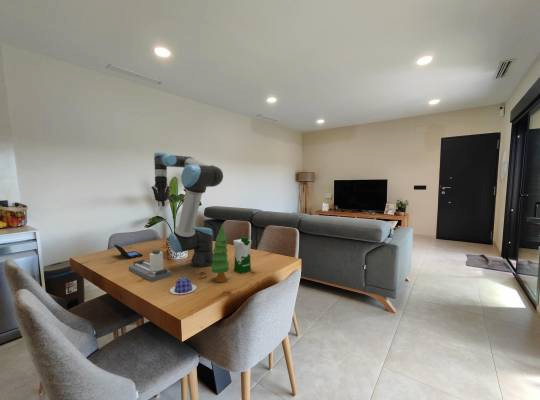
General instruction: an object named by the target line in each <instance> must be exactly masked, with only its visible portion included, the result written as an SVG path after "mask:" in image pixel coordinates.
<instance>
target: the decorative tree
mask: <svg viewBox="0 0 540 400" xmlns="http://www.w3.org/2000/svg"><path fill="white" fill-rule="evenodd" d="M227 239H228V238H227V236H226V232H225V230H224V224H223V223H221V226H220V229H219V231H218V234H217V236H216V238H215V242H214V248H213V253H214V255H213V257H212V260H213V262H212V265H211V266H210V268H211V272H212V273H213V274H217V275H216V278H215V282H216V283H217V282H218V283H224V282H225V281H226V280H227V277H226V275H225V274H226V273H228V272H229V270H230V268H229V265H230V262H229V260H228V248H227V246H228V242H227Z"/></svg>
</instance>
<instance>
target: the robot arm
mask: <svg viewBox="0 0 540 400" xmlns="http://www.w3.org/2000/svg"><path fill="white" fill-rule="evenodd" d="M153 160H154V182H155V183H154V185H153V186H151V187H150V188H151V189H152V192H153V196H154V200H155V201H156V202H158V203H157V204H158V208H159V212H164V211H165V207H166V204H165V202H166V201H168V199H169V194H170V190H171V189H172V186H169V185H168V177H167V176H168V170H167V167H169V168H171V167H172V168H183V170H182V173H181V175H180V179H181V181H180V182H181V184H182V186H183V188H184V190H185V194H184V197H183V203H182V208H181V212H180V218H179V221H178V226H176V227H175V228H174V232H171V233H169V234H168V243H169V247H170V249H171V251H172V252H173V253H175V254H177V253H184V252H187V251H193V253H192V257H191V260H190V265H191V266H192V267H196V268H207V267H211V265H212V262H213V260H212V257H213V255H214V252H213V250H214V248H213V243H214V241H213V239H214V233H213V229H212V228H210V227H203V226H195V224H196V221H197V217H198V216H197V215H198V211H199V208H200V204H201V198H202V195H203V194H204V193H206V190H207V188H212V187H218V186H219V185H220V184H221V183H222V182H223V179H224V173H223V170H222V169H221V168H220V167H217V166H215V165H210V164H209V165H208V164H206V163H204V162H201V161H199V160H196V159H195V157H193V156H189V155H188V156H186V155H185V156H184V155H183V156H182V155H174V154H171V153H165V152H154V155H153Z"/></svg>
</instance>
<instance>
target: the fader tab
mask: <svg viewBox="0 0 540 400" xmlns="http://www.w3.org/2000/svg"><path fill="white" fill-rule="evenodd" d="M148 257H149V262H150V270H151V271H155V272H156V271H160V270H161V269H163V268H164V252H163V251H161V250H160V249H159V248H158V249H152V252H151V253H149V256H148Z"/></svg>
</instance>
